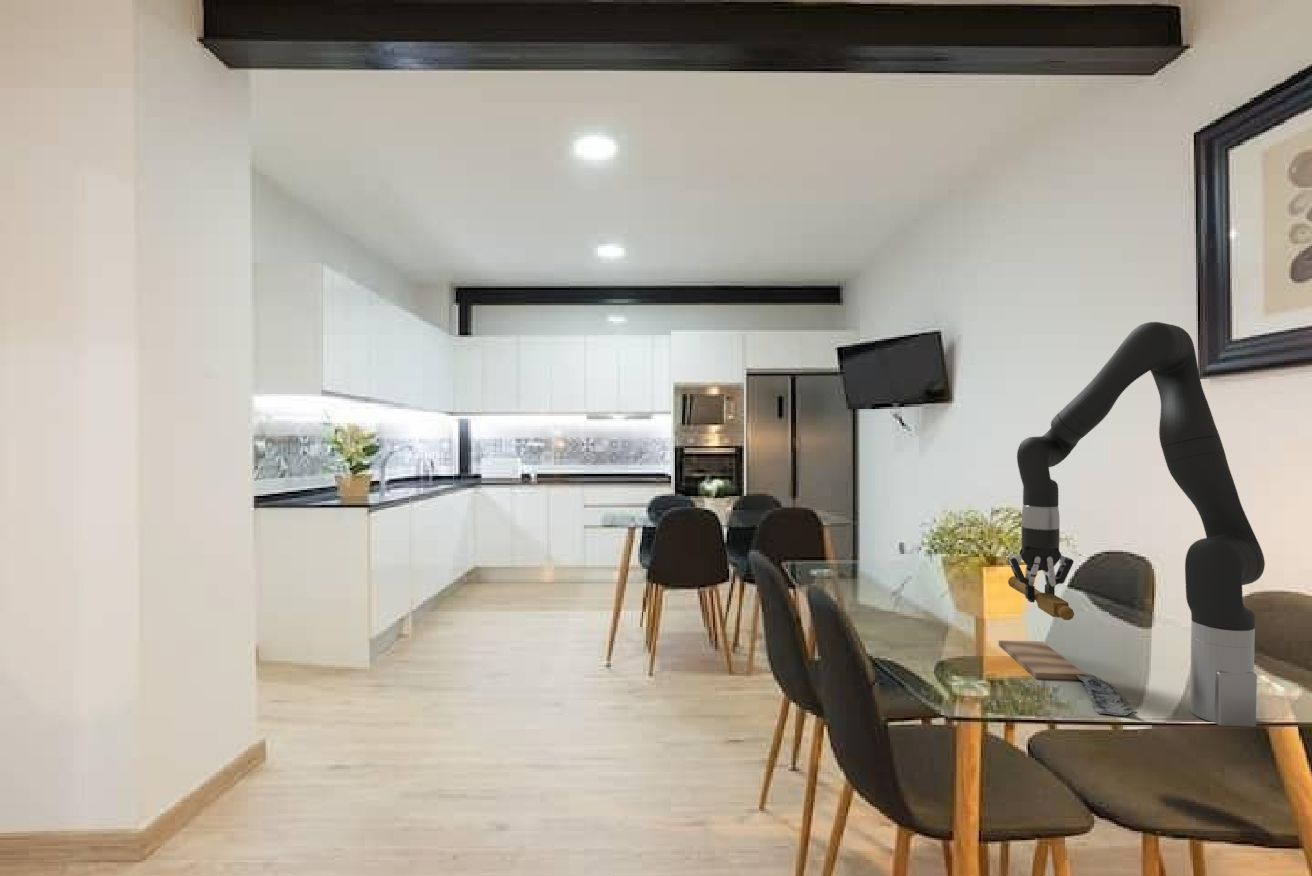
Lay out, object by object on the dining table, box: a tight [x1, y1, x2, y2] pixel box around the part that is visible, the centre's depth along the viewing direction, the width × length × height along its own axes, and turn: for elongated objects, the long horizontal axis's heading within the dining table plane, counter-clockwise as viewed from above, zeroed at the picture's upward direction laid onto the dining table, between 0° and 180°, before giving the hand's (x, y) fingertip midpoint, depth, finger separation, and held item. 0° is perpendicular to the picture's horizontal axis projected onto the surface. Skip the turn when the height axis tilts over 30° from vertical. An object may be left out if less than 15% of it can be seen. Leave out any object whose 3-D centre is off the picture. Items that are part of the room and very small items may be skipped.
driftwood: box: [1077, 673, 1139, 716], centre depth 144 cm, size 21×7×2 cm, turn 161°
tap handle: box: [1007, 575, 1075, 621], centre depth 164 cm, size 3×3×30 cm
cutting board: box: [998, 639, 1086, 681], centre depth 164 cm, size 22×10×1 cm, turn 173°
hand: (1039, 601), depth 164 cm, fingers closed on tap handle, 3 cm apart
